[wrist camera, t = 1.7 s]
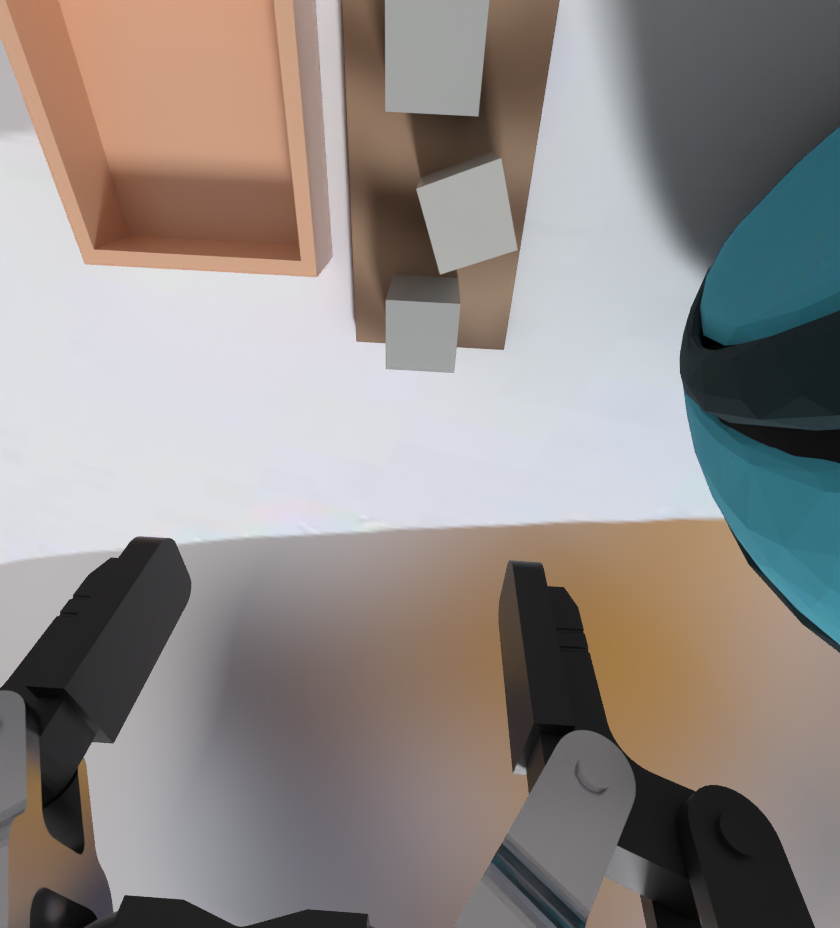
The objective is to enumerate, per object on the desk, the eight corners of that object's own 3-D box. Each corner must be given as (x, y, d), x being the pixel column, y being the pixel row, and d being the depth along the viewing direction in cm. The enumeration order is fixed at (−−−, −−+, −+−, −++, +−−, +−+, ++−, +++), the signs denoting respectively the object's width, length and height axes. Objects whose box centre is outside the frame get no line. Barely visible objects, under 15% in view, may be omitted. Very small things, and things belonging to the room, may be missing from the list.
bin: (25, -88, 21) (-61, -129, 17) (310, -73, 21) (282, -112, 17) (128, 246, 29) (84, 264, 26) (332, 257, 29) (317, 277, 26)
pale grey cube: (420, 177, 26) (416, 188, 22) (491, 151, 25) (501, 157, 21) (440, 251, 28) (440, 274, 24) (506, 230, 27) (517, 250, 23)
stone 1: (395, 4, 21) (385, -22, 18) (482, 8, 21) (491, -17, 17) (394, 112, 24) (385, 111, 20) (472, 116, 24) (478, 116, 20)
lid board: (345, -9, 22) (341, -14, 21) (555, 2, 22) (560, -3, 21) (358, 334, 32) (356, 341, 31) (501, 342, 32) (503, 349, 31)
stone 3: (393, 274, 29) (385, 299, 25) (458, 277, 29) (460, 304, 25) (393, 336, 31) (385, 368, 27) (452, 339, 31) (454, 372, 27)
